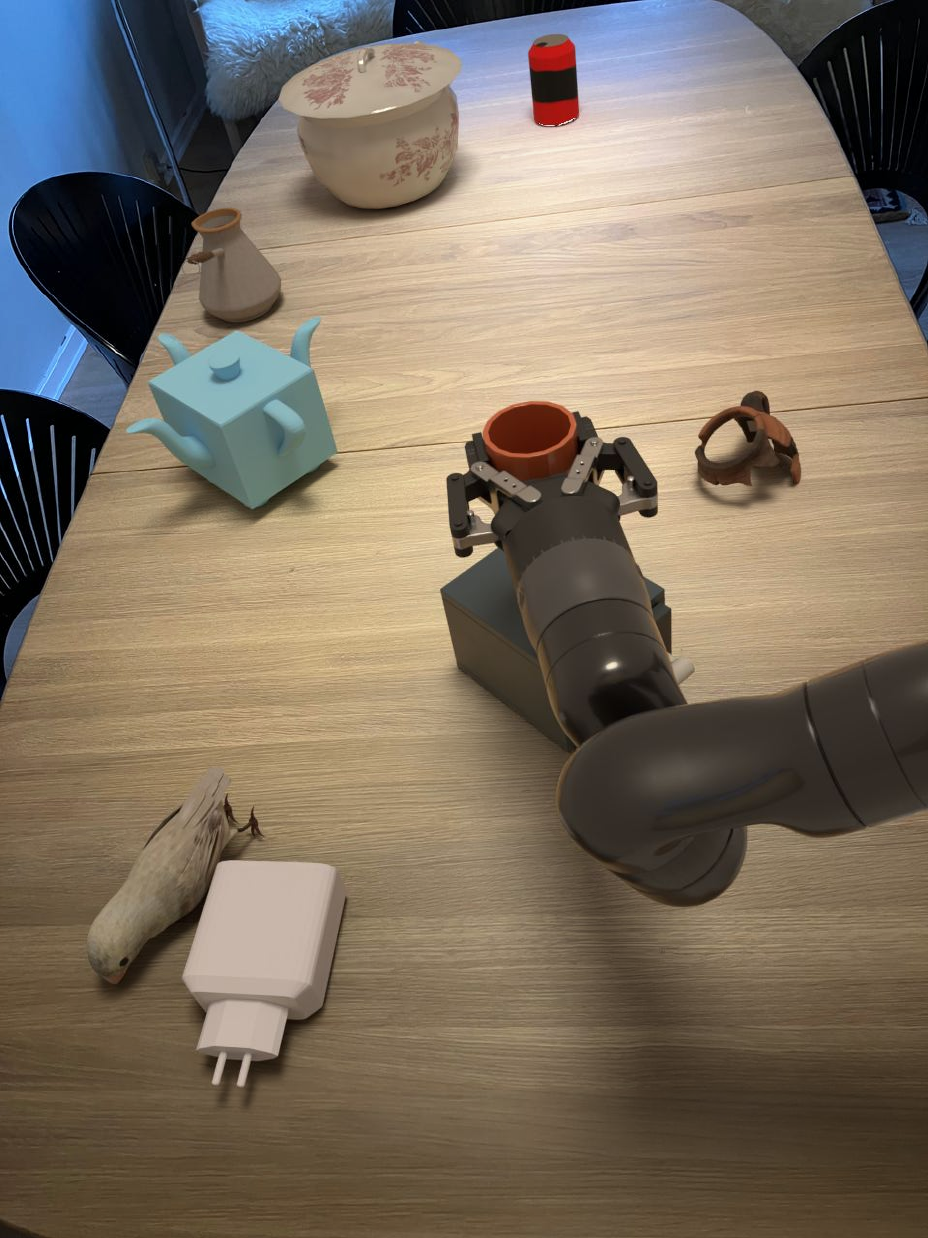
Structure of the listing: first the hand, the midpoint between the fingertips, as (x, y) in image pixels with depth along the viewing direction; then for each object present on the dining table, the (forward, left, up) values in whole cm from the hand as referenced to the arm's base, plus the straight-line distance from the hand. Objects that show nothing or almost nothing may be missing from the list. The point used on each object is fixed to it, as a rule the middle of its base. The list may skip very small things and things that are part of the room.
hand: (526, 432), depth 74 cm
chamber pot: (+14, -102, -24) cm, 106 cm away
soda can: (-14, -119, -24) cm, 122 cm away
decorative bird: (+31, +20, -24) cm, 44 cm away
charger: (+24, +28, -24) cm, 44 cm away
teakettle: (+30, -34, -24) cm, 51 cm away
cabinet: (0, +2, -24) cm, 24 cm away
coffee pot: (+35, -66, -24) cm, 79 cm away
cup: (0, +2, -8) cm, 8 cm away
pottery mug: (-22, -21, -24) cm, 39 cm away
